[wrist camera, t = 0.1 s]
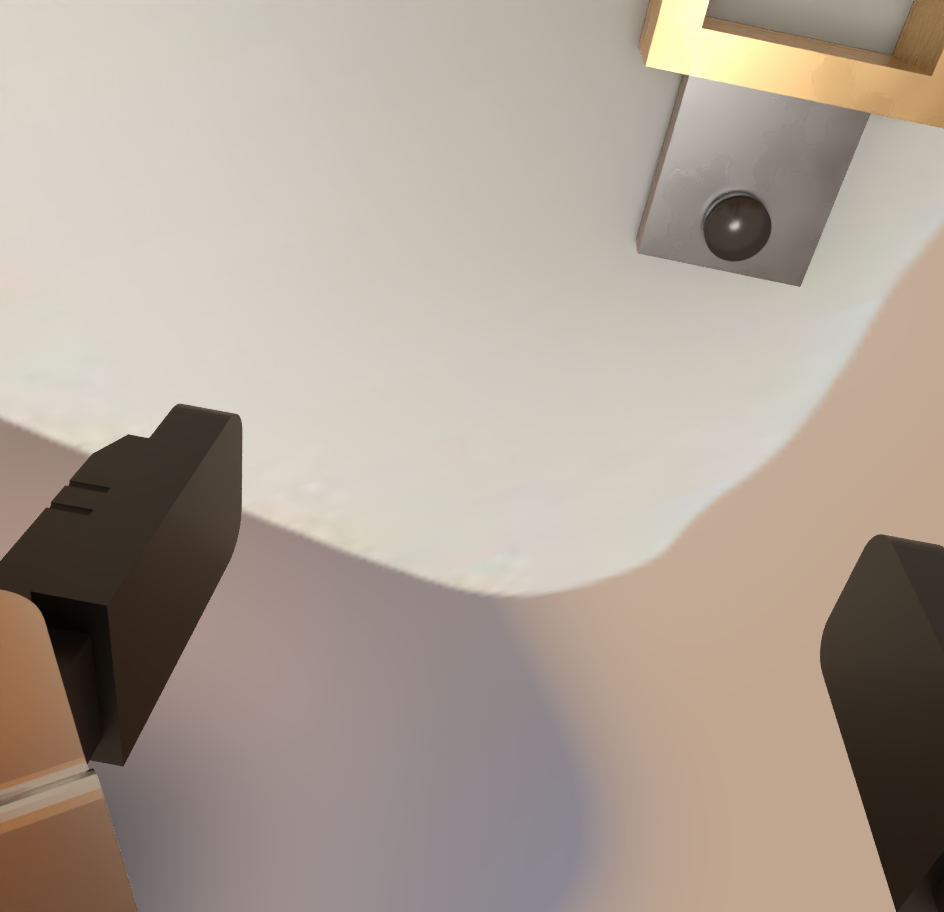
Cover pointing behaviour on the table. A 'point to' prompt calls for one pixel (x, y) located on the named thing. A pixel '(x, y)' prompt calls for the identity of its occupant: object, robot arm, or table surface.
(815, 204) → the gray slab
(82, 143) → the table surface
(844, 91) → the square wooden frame
